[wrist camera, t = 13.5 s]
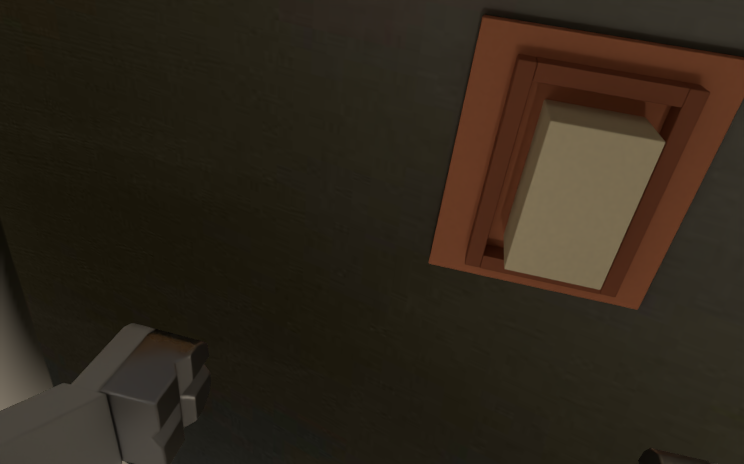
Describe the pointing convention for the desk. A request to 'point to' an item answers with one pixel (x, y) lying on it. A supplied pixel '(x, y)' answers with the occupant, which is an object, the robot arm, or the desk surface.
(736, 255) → the desk surface
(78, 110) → the desk surface
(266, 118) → the desk surface
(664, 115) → the base pad
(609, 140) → the top pad
